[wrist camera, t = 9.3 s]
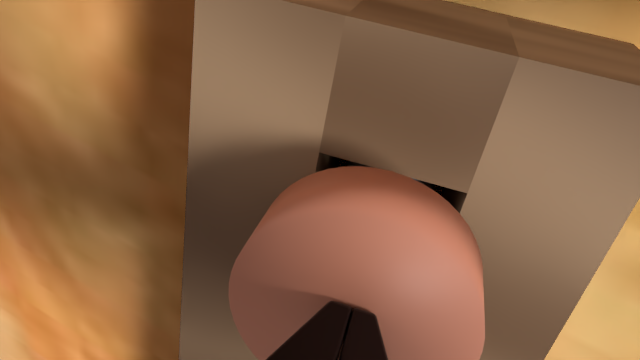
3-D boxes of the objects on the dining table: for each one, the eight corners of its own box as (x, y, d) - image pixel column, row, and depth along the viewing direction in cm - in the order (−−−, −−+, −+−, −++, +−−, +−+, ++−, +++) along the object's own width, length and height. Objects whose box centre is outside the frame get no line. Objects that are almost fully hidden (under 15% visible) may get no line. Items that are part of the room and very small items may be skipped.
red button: (448, 266, 15) (439, 441, 10) (297, 221, 15) (220, 366, 11) (505, 122, 12) (528, 261, 8) (324, 76, 13) (240, 177, 8)
